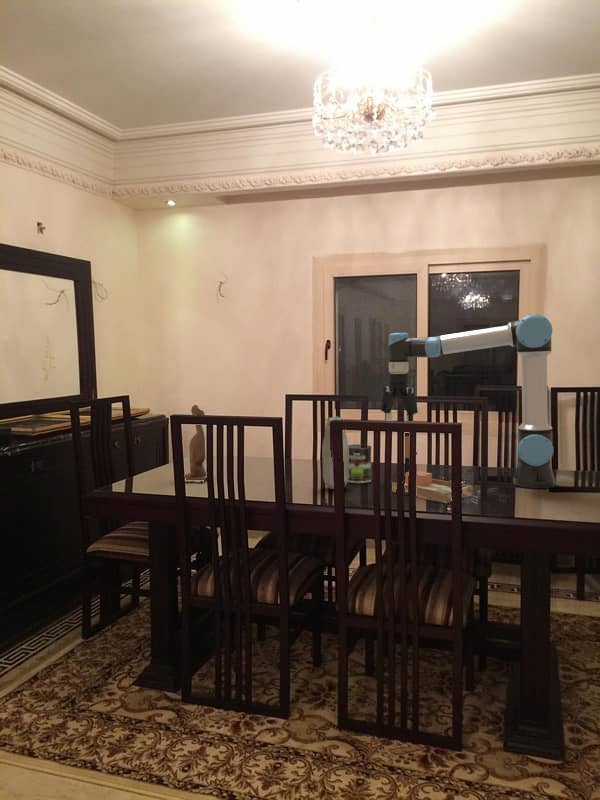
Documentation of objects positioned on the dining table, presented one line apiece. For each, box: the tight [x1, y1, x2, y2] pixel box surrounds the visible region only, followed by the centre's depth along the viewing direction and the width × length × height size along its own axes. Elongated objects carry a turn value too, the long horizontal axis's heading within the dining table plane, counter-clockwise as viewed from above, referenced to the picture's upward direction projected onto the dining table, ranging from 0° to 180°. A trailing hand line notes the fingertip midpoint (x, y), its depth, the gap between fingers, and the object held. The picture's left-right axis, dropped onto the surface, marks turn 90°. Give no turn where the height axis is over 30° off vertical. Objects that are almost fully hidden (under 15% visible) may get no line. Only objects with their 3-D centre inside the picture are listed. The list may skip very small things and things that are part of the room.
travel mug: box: [405, 433, 418, 473], centre depth 260 cm, size 8×8×20 cm
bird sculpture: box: [184, 404, 207, 481], centre depth 261 cm, size 11×12×32 cm
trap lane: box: [391, 478, 474, 504], centre depth 232 cm, size 16×26×4 cm, turn 41°
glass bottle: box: [321, 416, 349, 490], centre depth 241 cm, size 10×10×28 cm
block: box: [404, 470, 433, 486], centre depth 239 cm, size 6×8×4 cm
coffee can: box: [348, 444, 372, 484], centre depth 255 cm, size 10×10×14 cm
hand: (398, 430), depth 245 cm, fingers open, 9 cm apart
